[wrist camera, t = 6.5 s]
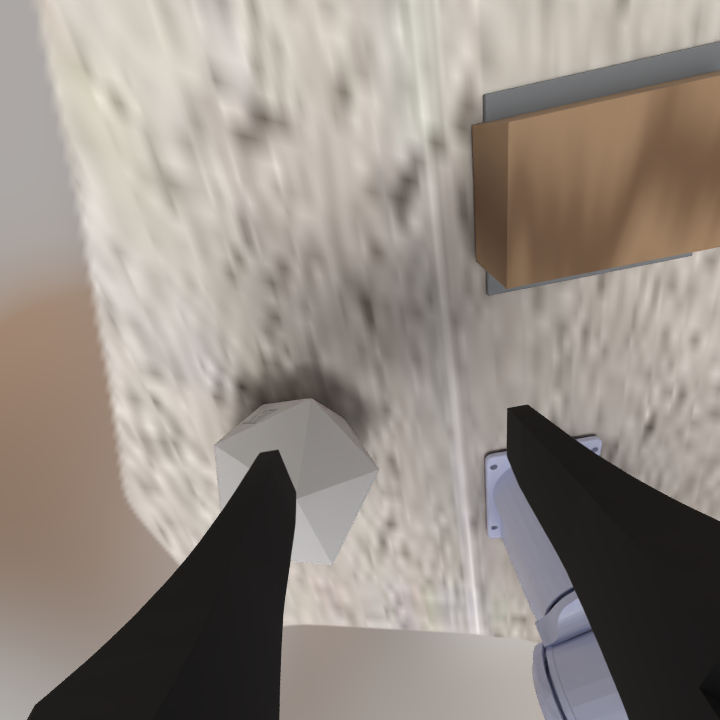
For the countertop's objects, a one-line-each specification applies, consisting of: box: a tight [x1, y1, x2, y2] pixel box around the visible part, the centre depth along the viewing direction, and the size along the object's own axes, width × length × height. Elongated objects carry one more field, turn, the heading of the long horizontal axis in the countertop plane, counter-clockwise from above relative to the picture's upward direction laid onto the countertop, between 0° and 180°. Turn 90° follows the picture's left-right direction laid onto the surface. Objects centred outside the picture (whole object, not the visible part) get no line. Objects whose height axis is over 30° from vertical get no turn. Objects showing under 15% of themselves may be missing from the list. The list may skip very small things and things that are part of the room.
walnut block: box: [472, 71, 720, 289], centre depth 16 cm, size 6×4×10 cm
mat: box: [483, 42, 720, 296], centre depth 18 cm, size 9×11×1 cm
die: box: [214, 398, 379, 565], centre depth 21 cm, size 8×9×10 cm
